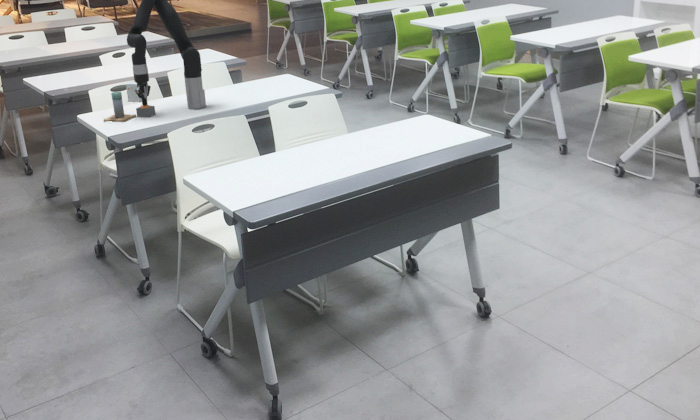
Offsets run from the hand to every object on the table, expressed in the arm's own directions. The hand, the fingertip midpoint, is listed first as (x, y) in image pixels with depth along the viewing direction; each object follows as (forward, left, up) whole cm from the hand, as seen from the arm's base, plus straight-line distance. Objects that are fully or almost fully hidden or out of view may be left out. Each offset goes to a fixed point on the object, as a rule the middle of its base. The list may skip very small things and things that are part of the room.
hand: (145, 105), depth 391 cm
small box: (+26, -36, -6) cm, 45 cm away
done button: (0, 0, -3) cm, 3 cm away
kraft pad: (+11, +9, -6) cm, 15 cm away
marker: (+11, +9, -5) cm, 15 cm away
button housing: (0, 0, -6) cm, 6 cm away
